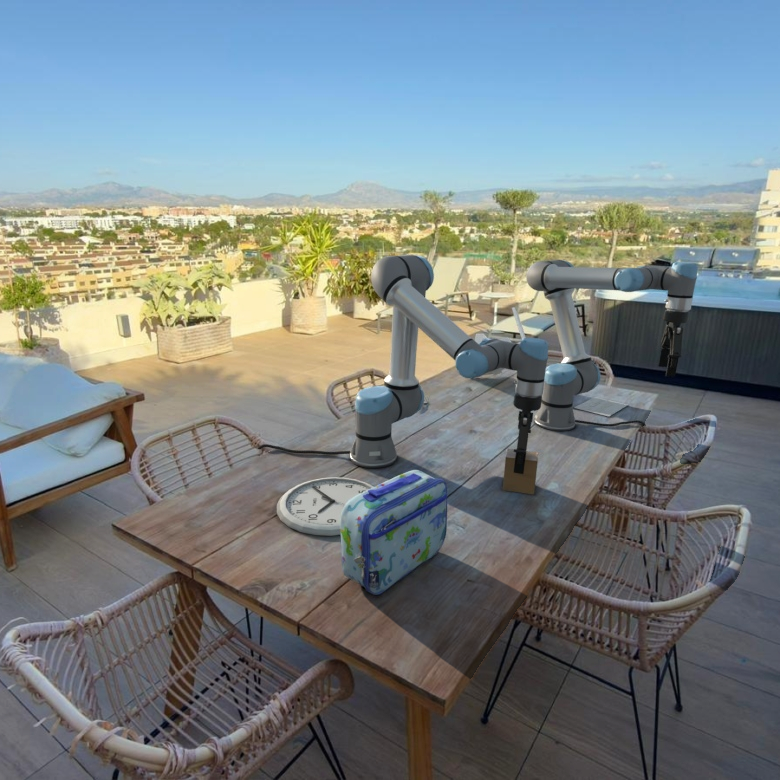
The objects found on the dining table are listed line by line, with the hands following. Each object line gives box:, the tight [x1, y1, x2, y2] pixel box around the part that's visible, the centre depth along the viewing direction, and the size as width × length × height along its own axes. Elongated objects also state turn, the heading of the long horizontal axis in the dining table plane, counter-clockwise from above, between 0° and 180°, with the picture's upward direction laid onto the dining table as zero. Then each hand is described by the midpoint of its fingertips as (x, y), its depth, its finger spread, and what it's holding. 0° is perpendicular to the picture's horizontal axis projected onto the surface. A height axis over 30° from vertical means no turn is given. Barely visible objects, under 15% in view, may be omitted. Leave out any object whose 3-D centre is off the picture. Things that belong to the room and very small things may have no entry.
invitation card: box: [573, 396, 629, 418], centre depth 226 cm, size 21×1×15 cm
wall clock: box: [276, 476, 375, 537], centre depth 142 cm, size 30×2×30 cm
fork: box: [423, 395, 430, 405], centre depth 223 cm, size 3×16×2 cm, turn 160°
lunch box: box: [340, 469, 448, 596], centre depth 114 cm, size 26×11×21 cm, turn 134°
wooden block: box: [502, 448, 539, 495], centre depth 153 cm, size 6×9×10 cm
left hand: (519, 462), depth 152 cm, fingers open, 13 cm apart
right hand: (666, 371), depth 181 cm, fingers open, 13 cm apart
